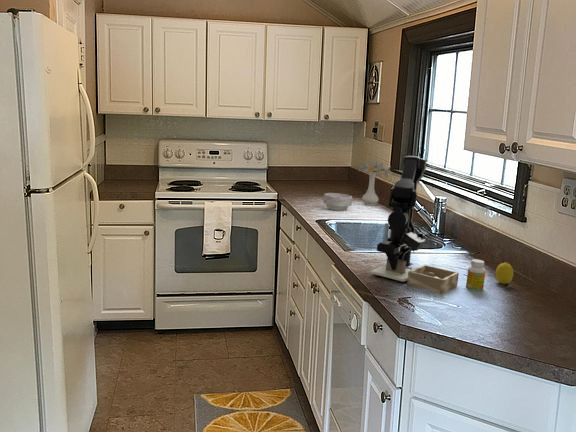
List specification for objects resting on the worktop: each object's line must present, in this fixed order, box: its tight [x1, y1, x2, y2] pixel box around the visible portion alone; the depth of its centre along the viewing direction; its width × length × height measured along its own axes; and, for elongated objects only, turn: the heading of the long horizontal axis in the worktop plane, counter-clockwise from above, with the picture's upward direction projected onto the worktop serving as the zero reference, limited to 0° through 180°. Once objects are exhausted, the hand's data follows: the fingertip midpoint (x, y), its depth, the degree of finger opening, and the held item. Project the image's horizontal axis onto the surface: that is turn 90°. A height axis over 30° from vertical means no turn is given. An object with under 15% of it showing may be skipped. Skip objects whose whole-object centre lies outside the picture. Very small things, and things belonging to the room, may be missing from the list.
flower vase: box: [357, 160, 392, 207], centre depth 335 cm, size 13×18×25 cm
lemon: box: [495, 261, 514, 285], centre depth 199 cm, size 6×6×8 cm
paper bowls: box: [323, 192, 353, 212], centre depth 317 cm, size 15×15×8 cm
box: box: [406, 264, 460, 295], centre depth 192 cm, size 12×12×5 cm
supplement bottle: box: [465, 258, 486, 292], centre depth 191 cm, size 5×5×10 cm
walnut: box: [426, 272, 436, 277], centre depth 195 cm, size 3×3×3 cm
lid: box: [369, 257, 412, 283], centre depth 198 cm, size 12×12×5 cm
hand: (395, 269), depth 199 cm, fingers closed on lid, 2 cm apart
